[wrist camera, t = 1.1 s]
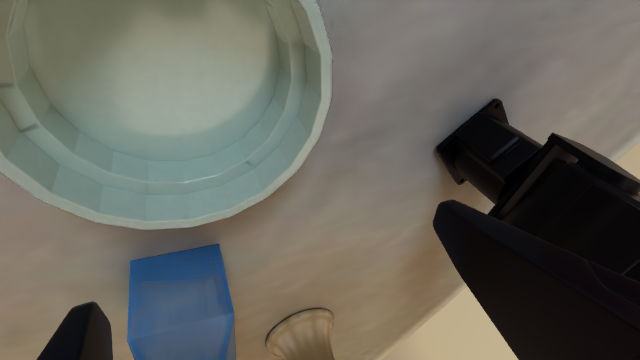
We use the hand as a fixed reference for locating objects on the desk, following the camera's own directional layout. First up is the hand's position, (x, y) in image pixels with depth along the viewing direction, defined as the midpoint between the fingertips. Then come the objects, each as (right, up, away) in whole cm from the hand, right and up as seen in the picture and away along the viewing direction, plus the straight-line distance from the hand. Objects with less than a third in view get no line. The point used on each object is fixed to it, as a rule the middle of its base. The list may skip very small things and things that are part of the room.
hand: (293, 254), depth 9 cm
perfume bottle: (-10, -6, +19) cm, 22 cm away
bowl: (-7, +8, +9) cm, 14 cm away
